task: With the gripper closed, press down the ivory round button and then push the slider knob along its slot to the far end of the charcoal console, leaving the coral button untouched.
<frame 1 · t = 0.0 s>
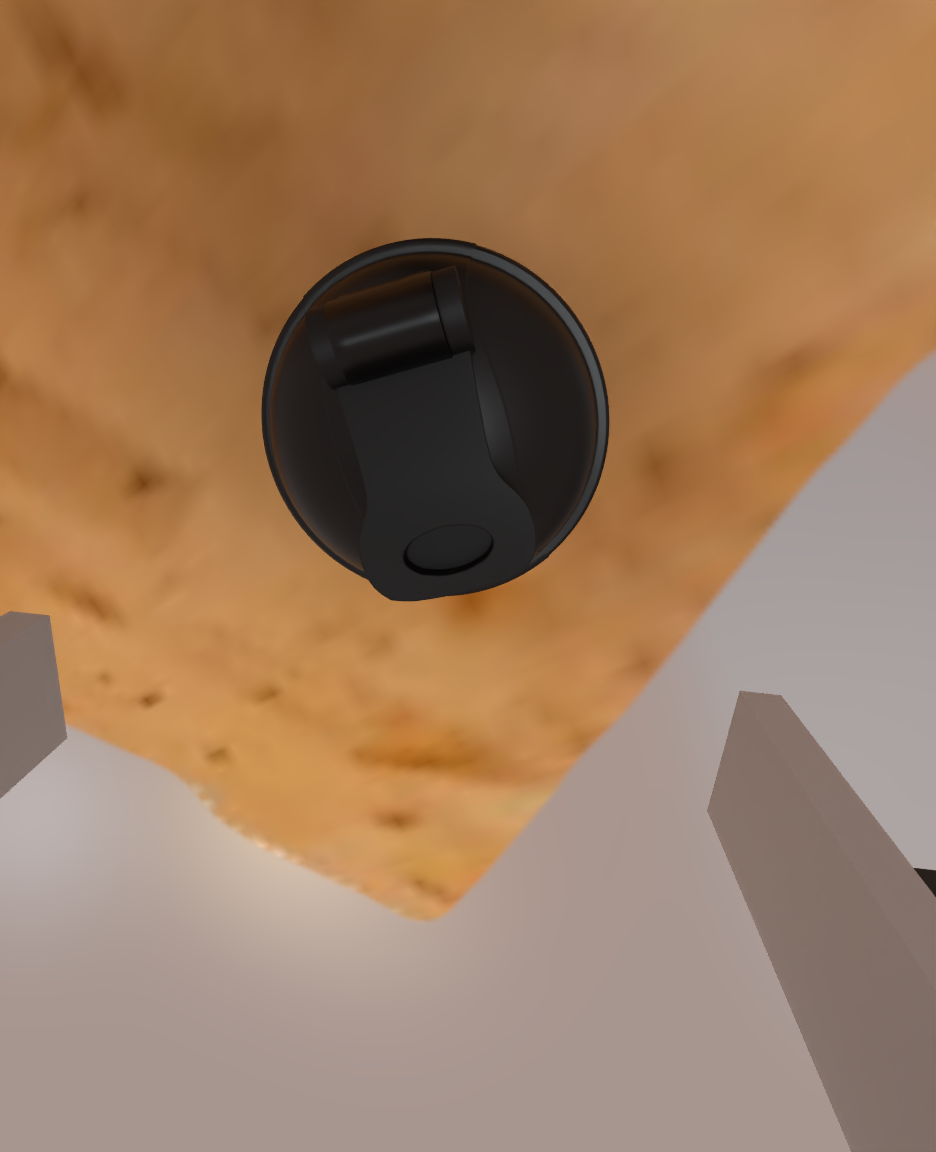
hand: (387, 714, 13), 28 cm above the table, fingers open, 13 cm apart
water bottle: (470, 386, 38), on the table
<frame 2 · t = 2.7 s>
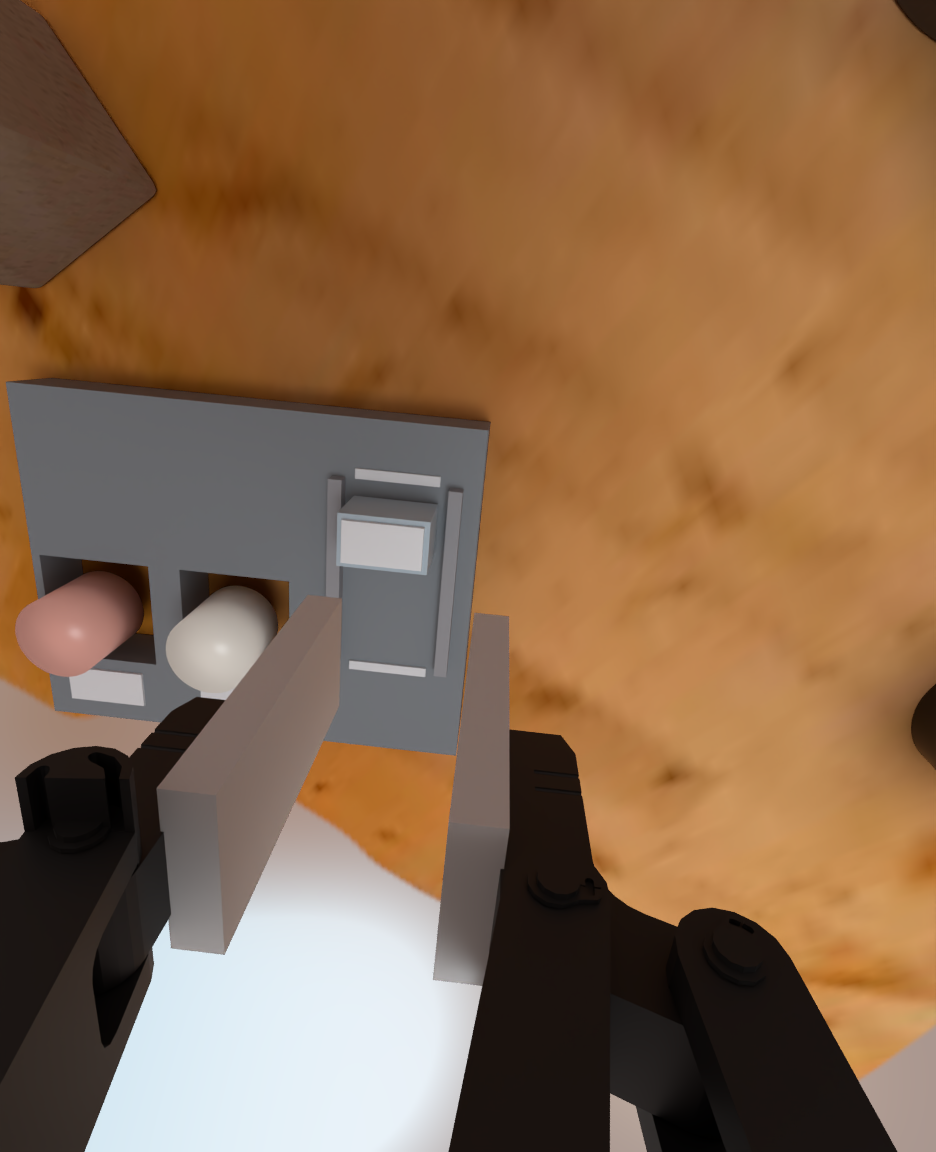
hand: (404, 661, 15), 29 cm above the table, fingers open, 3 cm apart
slider knob: (388, 534, 37), point 6 cm above the table, slide at 0.0 cm
button ivory: (225, 637, 40), point 6 cm above the table, slide at 0.0 cm
button coral: (83, 621, 41), point 6 cm above the table, slide at 0.0 cm
console: (271, 564, 45), on the table
wooden block: (43, 162, 37), on the table
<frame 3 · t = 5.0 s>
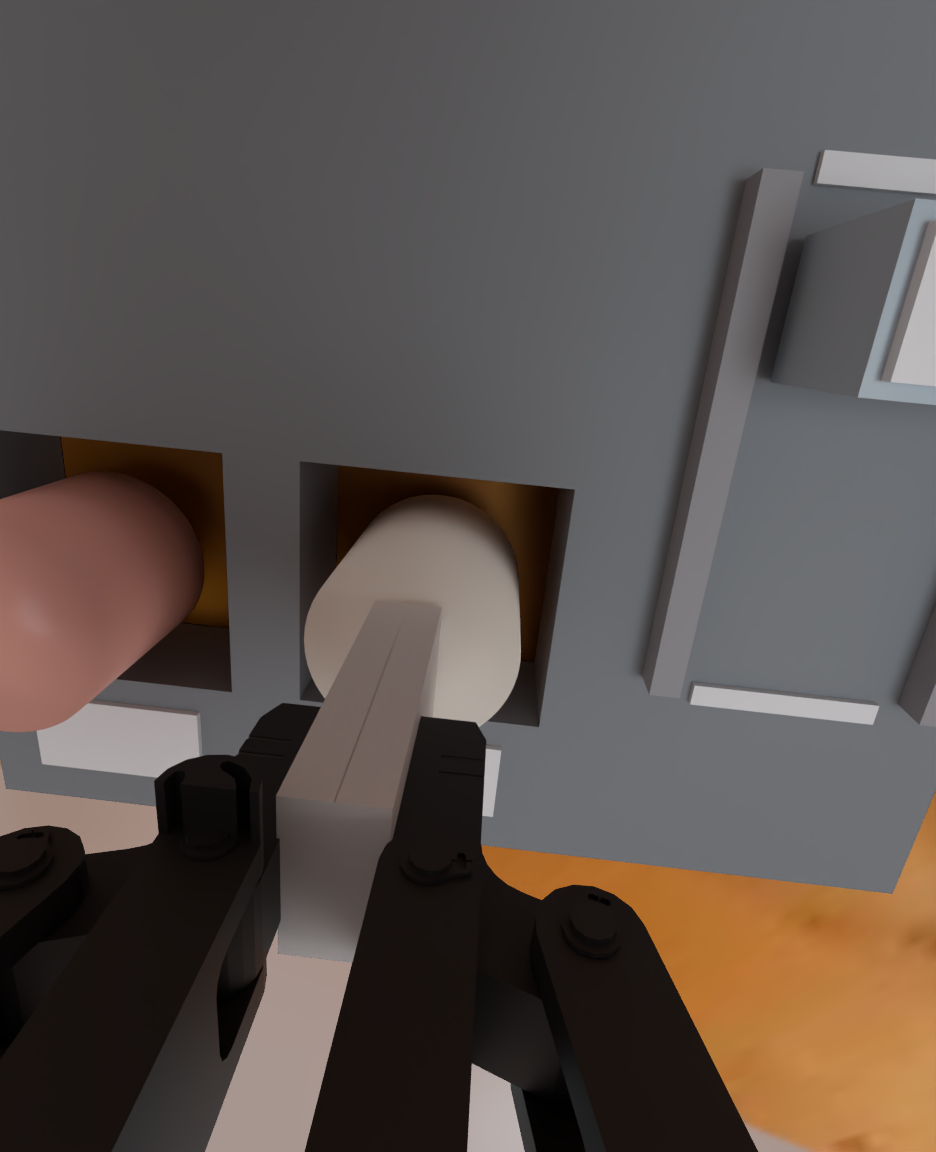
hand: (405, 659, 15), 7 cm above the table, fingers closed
button ivory: (425, 608, 17), point 4 cm above the table, slide at 1.3 cm, touching gripper
button coral: (62, 589, 16), point 6 cm above the table, slide at 0.0 cm
console: (480, 468, 20), on the table
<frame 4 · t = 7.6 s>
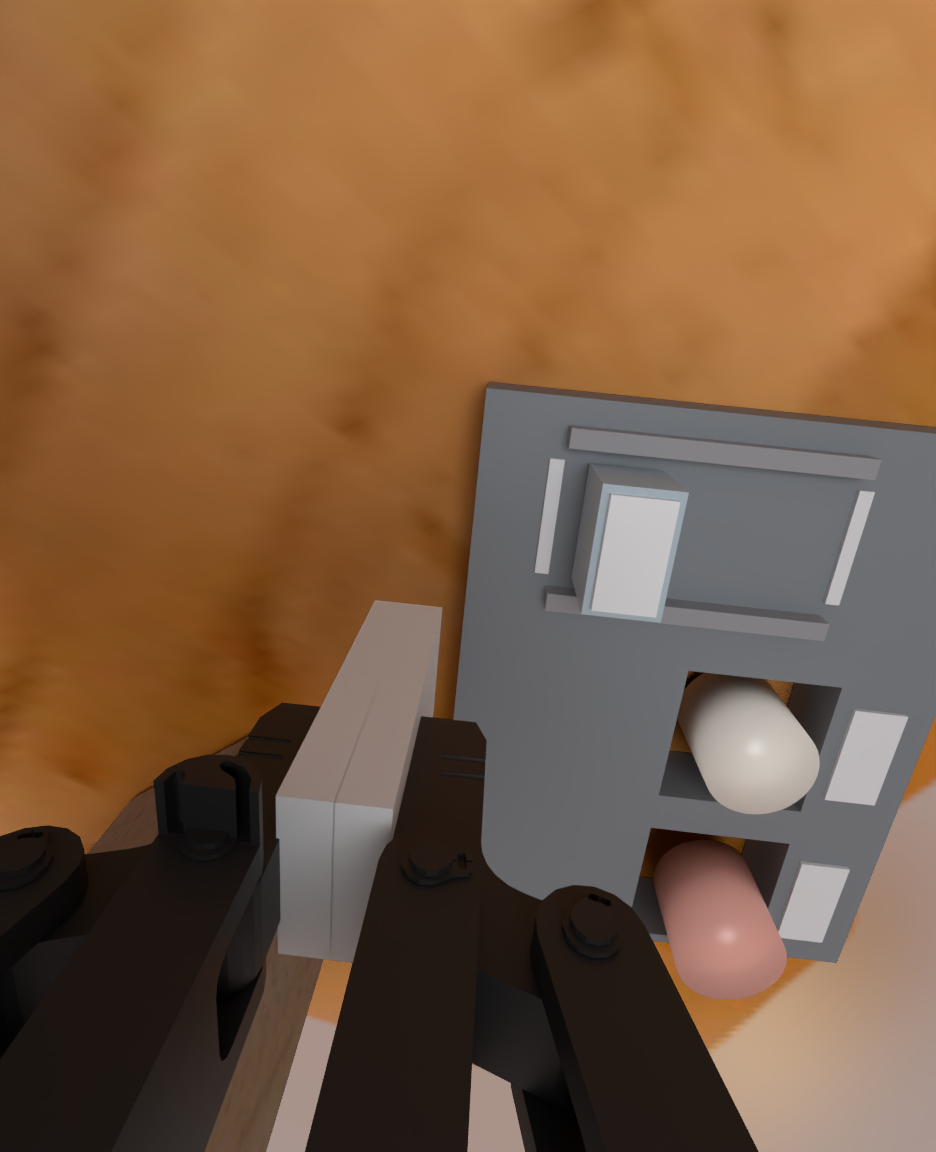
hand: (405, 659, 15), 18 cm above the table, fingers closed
slider knob: (624, 540, 25), point 6 cm above the table, slide at 0.0 cm
button ivory: (742, 736, 31), point 3 cm above the table, slide at 2.3 cm
button coral: (714, 915, 32), point 6 cm above the table, slide at 0.0 cm
console: (668, 677, 34), on the table
wooden block: (247, 820, 40), on the table
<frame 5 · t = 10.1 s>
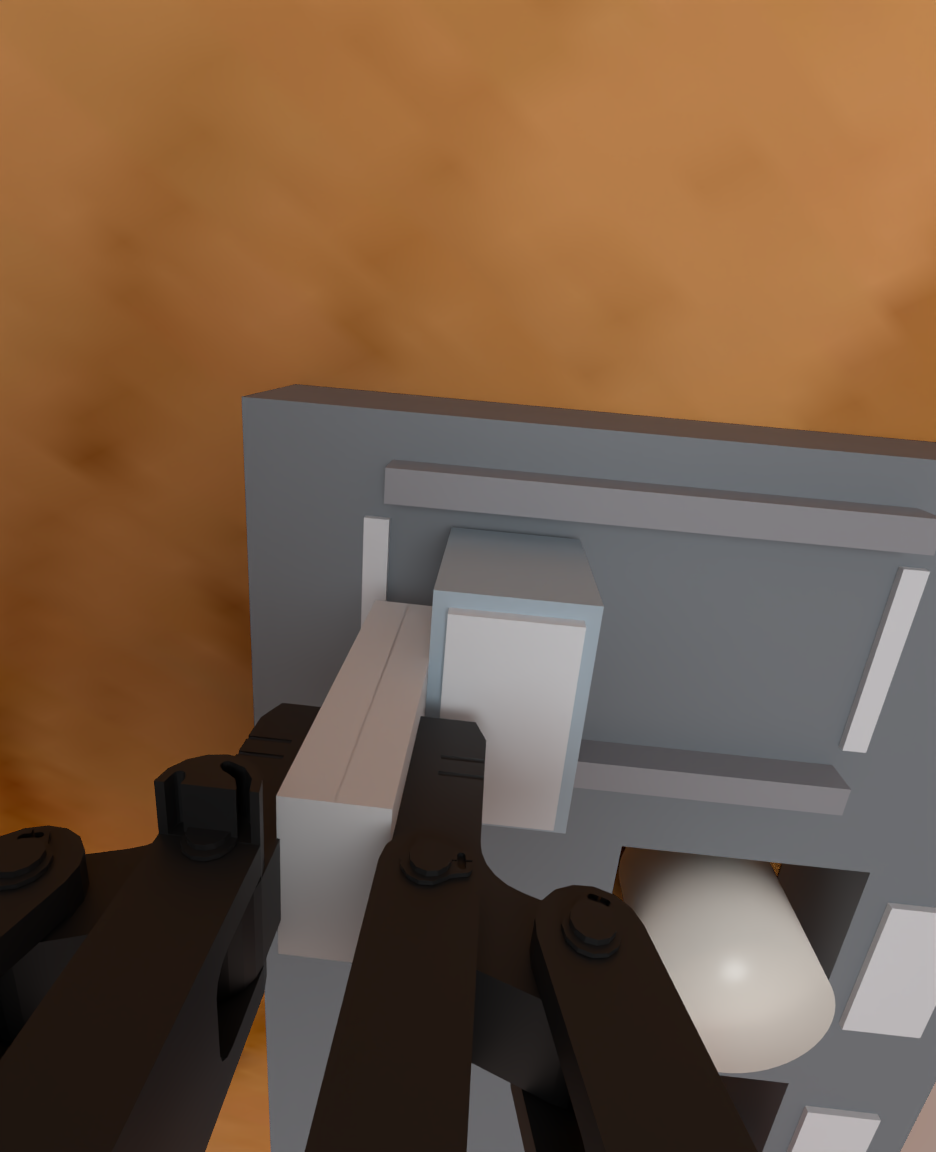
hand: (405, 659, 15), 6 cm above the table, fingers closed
slider knob: (504, 672, 14), point 6 cm above the table, slide at 0.5 cm, touching gripper
button ivory: (713, 933, 20), point 3 cm above the table, slide at 2.3 cm
console: (605, 820, 23), on the table
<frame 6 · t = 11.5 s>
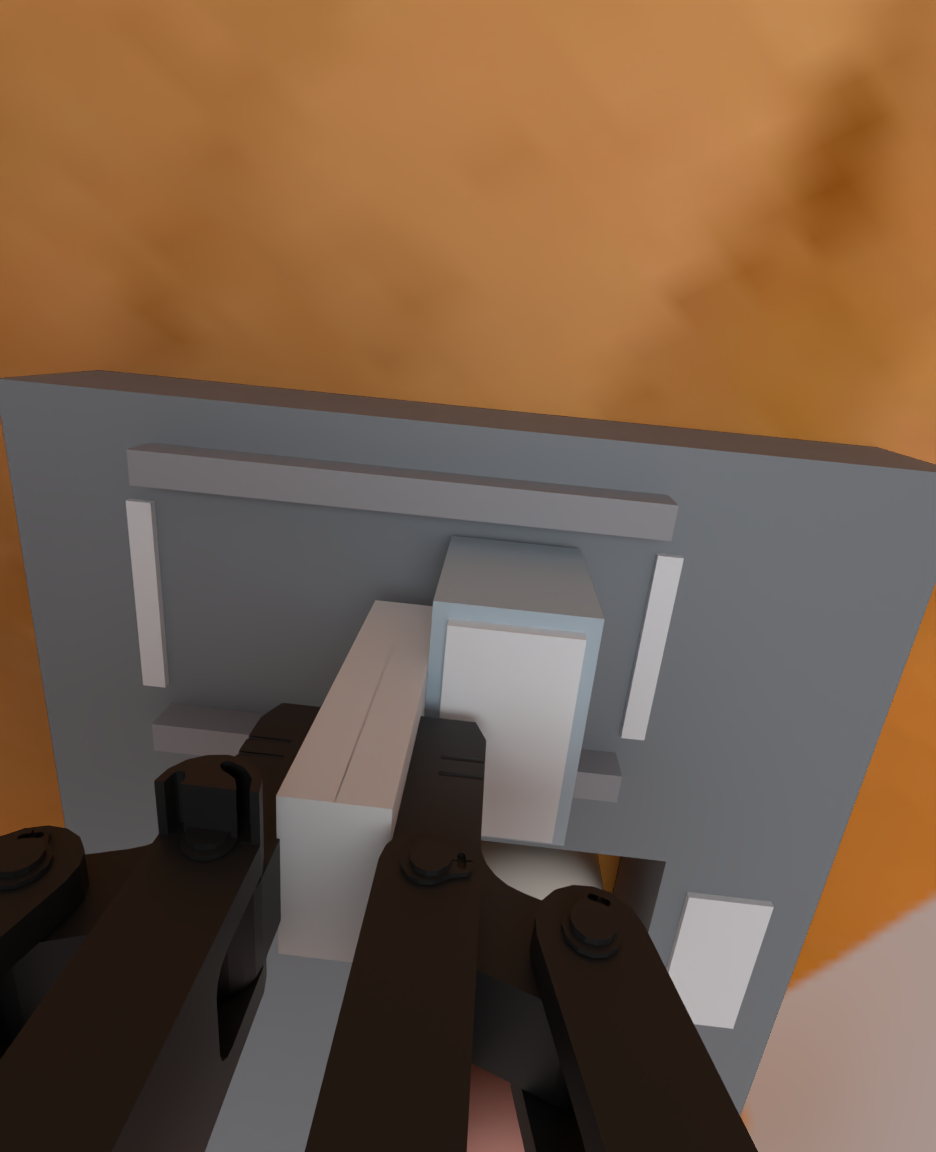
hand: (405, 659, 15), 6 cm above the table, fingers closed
slider knob: (503, 682, 14), point 6 cm above the table, slide at 6.2 cm, touching gripper
button ivory: (527, 922, 20), point 3 cm above the table, slide at 2.3 cm
console: (444, 810, 23), on the table
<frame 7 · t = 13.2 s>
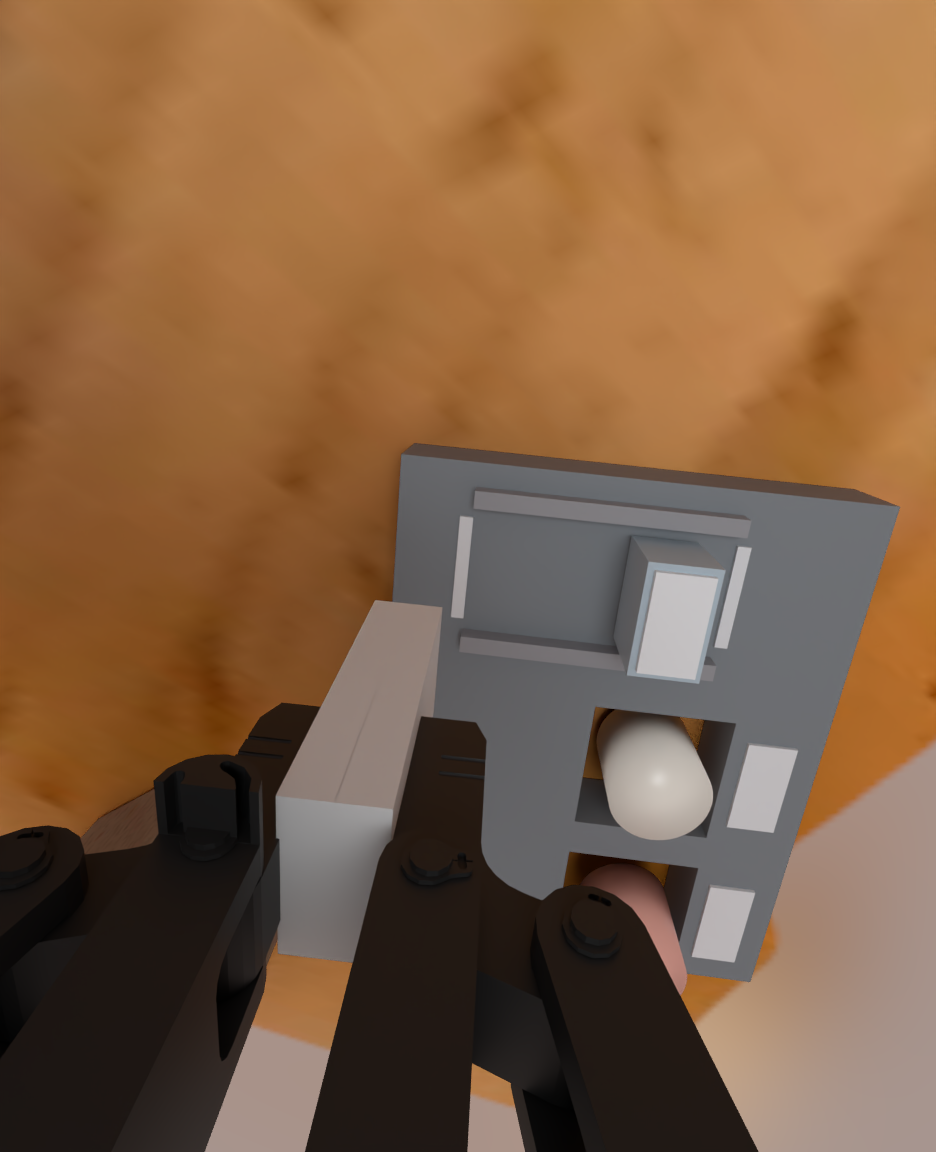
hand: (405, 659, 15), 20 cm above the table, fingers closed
slider knob: (664, 607, 28), point 6 cm above the table, slide at 6.2 cm
button ivory: (650, 767, 34), point 3 cm above the table, slide at 2.3 cm
button coral: (627, 935, 35), point 6 cm above the table, slide at 0.0 cm
console: (589, 710, 37), on the table
wooden block: (205, 841, 42), on the table
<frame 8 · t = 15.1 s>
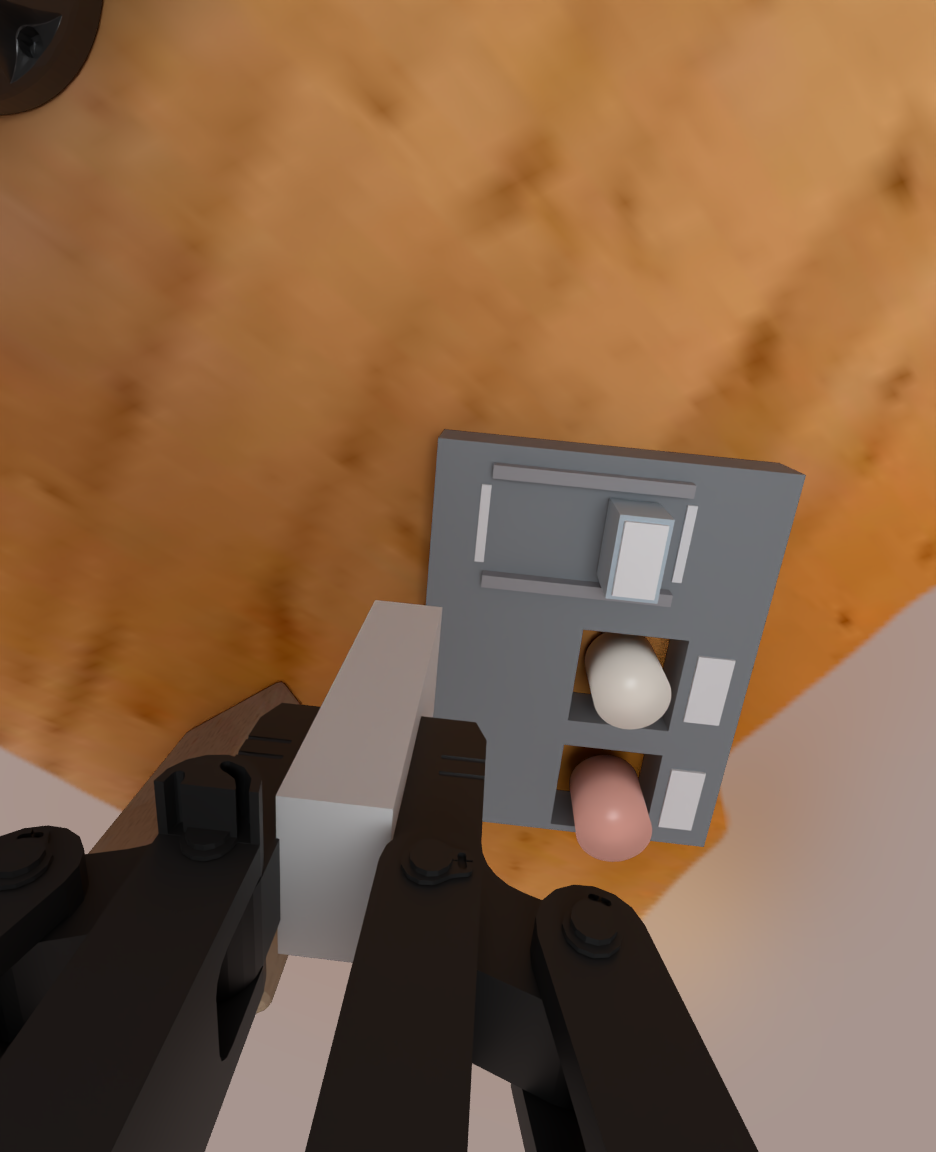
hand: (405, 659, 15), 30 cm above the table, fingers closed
slider knob: (633, 550, 38), point 6 cm above the table, slide at 6.2 cm
button ivory: (625, 677, 45), point 3 cm above the table, slide at 2.3 cm
button coral: (608, 806, 46), point 6 cm above the table, slide at 0.0 cm
console: (578, 638, 47), on the table
wooden block: (271, 750, 53), on the table
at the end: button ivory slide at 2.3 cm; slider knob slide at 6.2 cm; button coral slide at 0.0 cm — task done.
